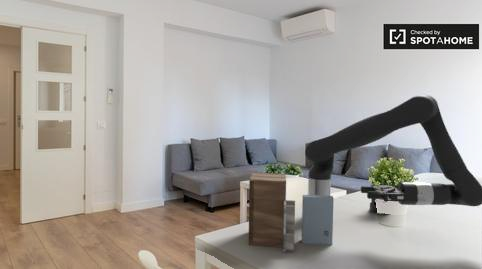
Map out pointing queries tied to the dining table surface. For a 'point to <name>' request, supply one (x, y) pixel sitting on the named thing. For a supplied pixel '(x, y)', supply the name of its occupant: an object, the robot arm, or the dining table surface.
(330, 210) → the door
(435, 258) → the dining table surface
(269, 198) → the cabinet
